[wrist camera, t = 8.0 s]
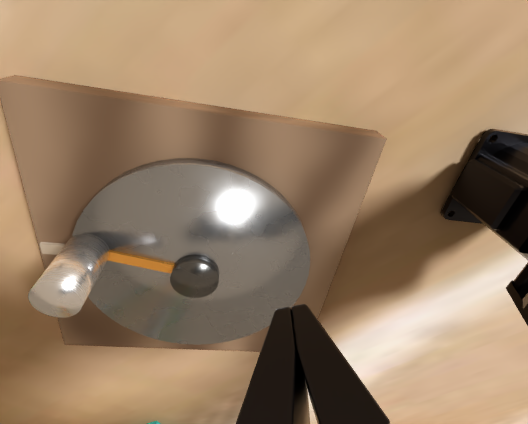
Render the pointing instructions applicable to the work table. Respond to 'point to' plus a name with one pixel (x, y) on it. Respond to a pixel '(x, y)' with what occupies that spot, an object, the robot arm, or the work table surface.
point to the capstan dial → (181, 254)
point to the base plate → (179, 146)
